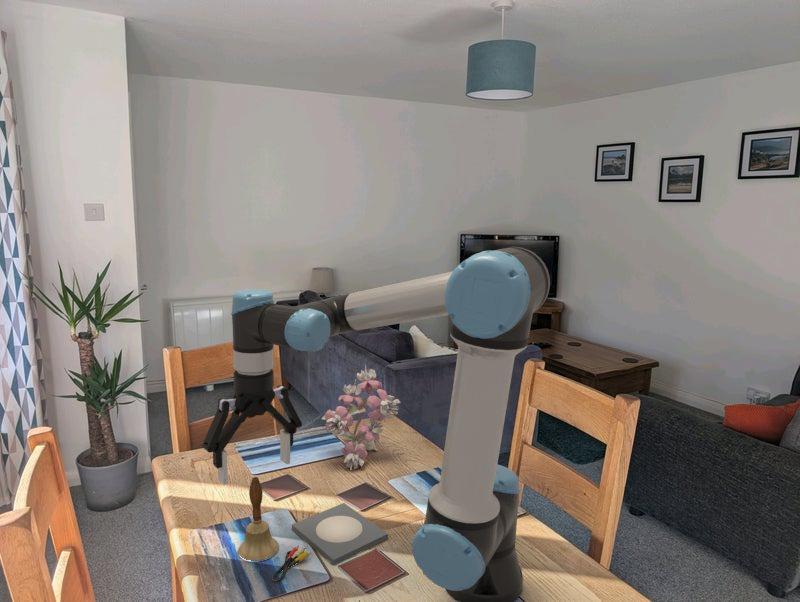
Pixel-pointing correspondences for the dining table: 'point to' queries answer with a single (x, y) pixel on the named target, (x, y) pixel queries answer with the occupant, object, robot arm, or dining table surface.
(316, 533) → the board
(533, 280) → the robot arm
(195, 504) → the dining table surface
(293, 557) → the composite cable
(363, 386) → the flower
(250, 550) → the hand bell
